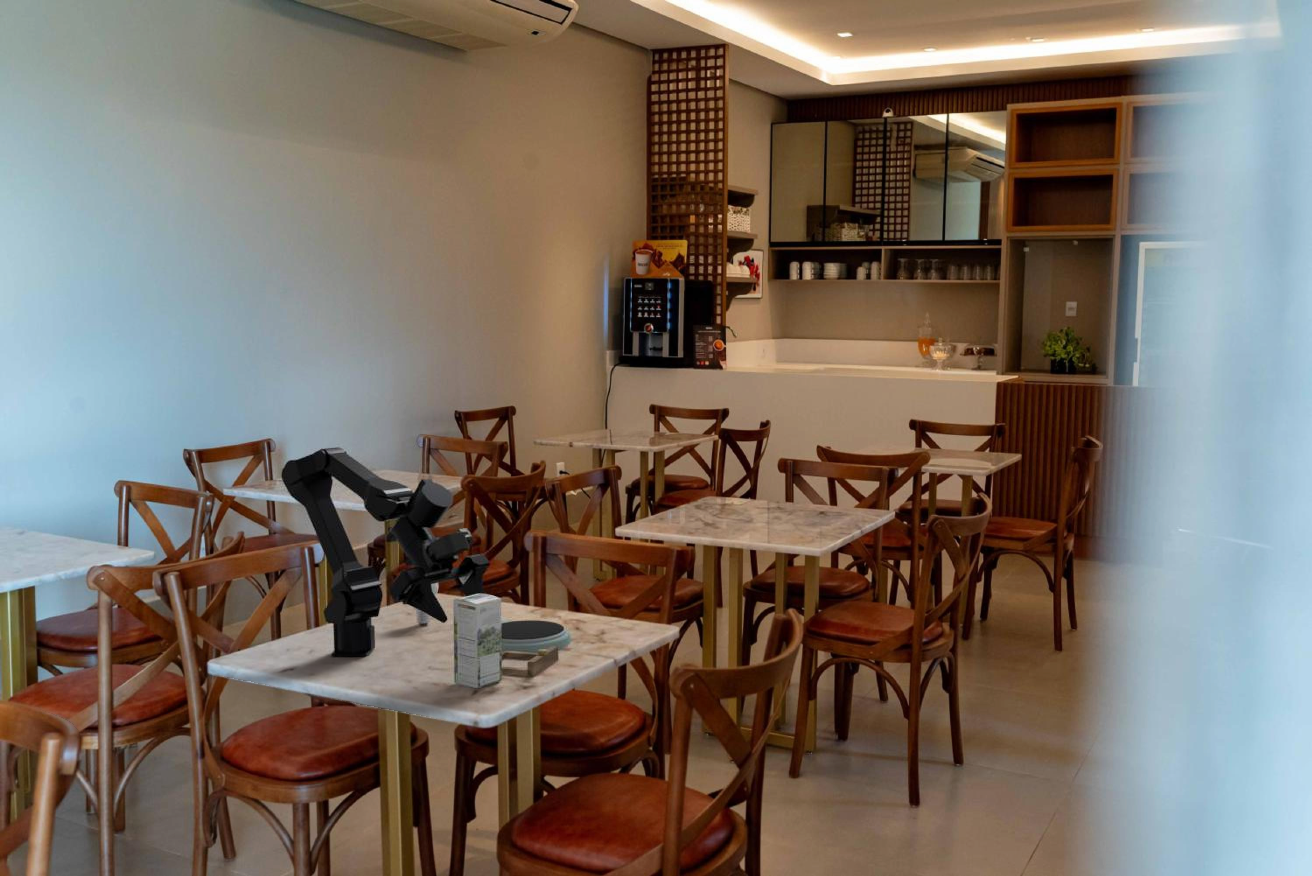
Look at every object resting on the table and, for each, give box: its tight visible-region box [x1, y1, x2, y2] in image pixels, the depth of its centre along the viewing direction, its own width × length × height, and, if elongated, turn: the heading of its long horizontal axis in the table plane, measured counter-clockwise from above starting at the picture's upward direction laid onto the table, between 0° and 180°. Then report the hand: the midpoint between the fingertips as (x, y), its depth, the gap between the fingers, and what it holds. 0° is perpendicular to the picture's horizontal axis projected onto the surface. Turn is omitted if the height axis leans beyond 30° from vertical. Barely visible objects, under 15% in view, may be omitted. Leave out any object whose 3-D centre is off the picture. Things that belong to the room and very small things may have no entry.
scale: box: [501, 619, 572, 653], centre depth 217 cm, size 18×4×25 cm
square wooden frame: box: [501, 646, 559, 677], centre depth 199 cm, size 11×11×3 cm
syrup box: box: [453, 593, 503, 689], centre depth 189 cm, size 6×6×14 cm
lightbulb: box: [414, 583, 439, 626], centre depth 230 cm, size 6×6×11 cm
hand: (466, 615), depth 190 cm, fingers open, 9 cm apart
